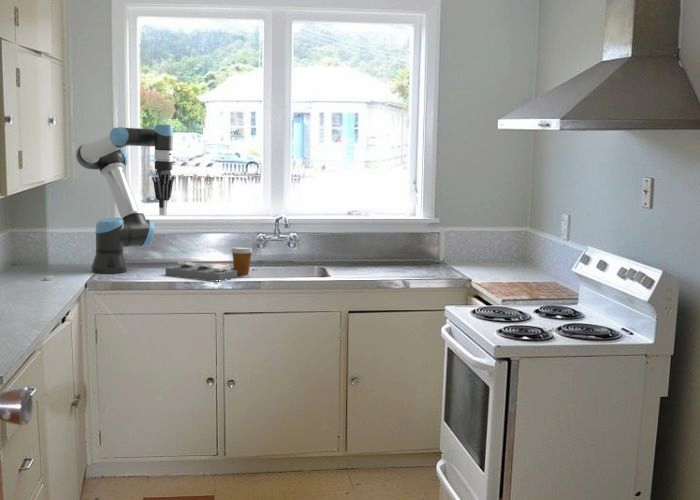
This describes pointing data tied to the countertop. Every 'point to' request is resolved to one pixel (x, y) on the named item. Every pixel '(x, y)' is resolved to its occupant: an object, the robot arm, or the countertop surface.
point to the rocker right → (220, 267)
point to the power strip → (200, 272)
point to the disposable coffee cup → (241, 259)
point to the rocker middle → (203, 265)
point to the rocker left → (186, 263)
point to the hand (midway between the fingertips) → (162, 215)
